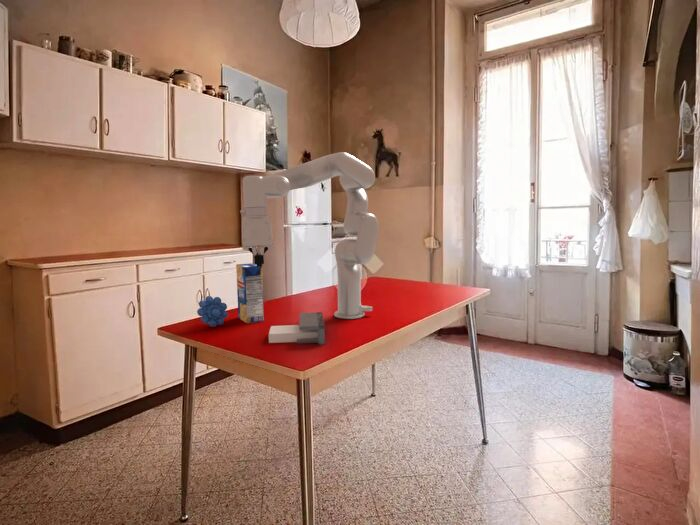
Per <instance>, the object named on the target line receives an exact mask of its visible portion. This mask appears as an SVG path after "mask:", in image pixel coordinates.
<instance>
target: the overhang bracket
mask: <svg viewBox="0 0 700 525" xmlns="http://www.w3.org/2000/svg"><path fill="white" fill-rule="evenodd" d="M298 325H299V330H318V338H307V339H297V342H296V344H313V343H315V344H316V343H317V344H318V346H319V345H320V346H321V345H325V344H326V343H325V342H326V341H325V340H326V338H325V336H326V334H325V332H326V331H325V321H324V315H323V312H322V311H321V312H300V313H299V324H298Z"/></svg>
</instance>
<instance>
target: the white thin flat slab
mask: <svg viewBox="0 0 700 525" xmlns="http://www.w3.org/2000/svg"><path fill="white" fill-rule="evenodd" d="M307 338H318V330H299V324H292V325H290V324H289V325H270V328H269V332H268V344H277V343H278V344H280V343H297V339H307Z"/></svg>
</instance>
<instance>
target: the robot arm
mask: <svg viewBox="0 0 700 525" xmlns="http://www.w3.org/2000/svg"><path fill="white" fill-rule="evenodd" d="M335 177H339V183H340V186H341V187H342V189H343V190H344V191H345V194H346V197H347V204H346V205H347V206H346V210H345V216H344V220H343V227H342V228H343V232H344V233H345V234H346V235H347V236H349V237H356V239H353V238H345V239H342V240H340V241H338V242H337V244H336V245H335V248H334V257H335V262H336V267H337V270H336V272H337V273H336V274H337V310H336V311H335V312H334V314H333V315H334V317H335V318H338V319H341V320H342V319H343V320H354V319H361V318H363V317H365V313H366V312H373V306H372V305H371V306H369V305H362V302H361V300H362V297H361V296H362V293H361V292H362V284H361V279H362V277H361V276H362V273H361V268H360V265H366V264H369V263H370V262H371V261H372V260H373V257H374V254H375V251H376V246H377V240H378V237H379V232H380V230H379V229H380V225H379V220H378V218H377V217H376V215H374V214H373V213H370V212H368V208H369V197H368V195H367V191H366V189H369V188H371V187H372V186H373V185H374V184H375V181H376V174H375V172H374V170H373V168H371V166H369V165H368V164H366V163H365V162H363V161H361V160H360V159H358V158H356V157H355V156H354V155H351V154H349V153H348V152H344V151H340V152H335V153H330V154H327V155H324V156H321V157H318V158H315V159H312V160H309V161H306V162H304V163H301V164H299V165H298V164H297V165H295V166H292V167H290V168H288V169H285V170H283V171H282V170H281V171H279V172H275V173H273V174H270V175H267V176H261V175H246V176H244V177H243V178H242V188H243V189H242V190H243V192H242V194H243V207H244V208H243V209H241V210H239V212H240V215H244V217H242V222H241V244H242V246H241V248H242V249H241V250H244V251H246V252H247V251H248V252H250V253H251V254H252V255H253V256H254V257H253V258H254V264H257V267H259V266H260V267H262V268H263V265H264V264H265V258H264V256H265V255H264V254H266V253H267V251H270V250H273V249H274V248H275V244H274V235H273V234H274V233H273V225H272V220H271V217H270V216H268V201H267V199H276V198H283V197H285V196H287V195H288V193H290V191H293V190H297V189H304V188H309V187H312V186H315V185H317V184H319V183H321V182H325V181H327V180H329V179H333V178H335ZM258 247H260V250H259V251H260V252H258Z"/></svg>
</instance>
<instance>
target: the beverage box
mask: <svg viewBox="0 0 700 525" xmlns="http://www.w3.org/2000/svg"><path fill="white" fill-rule="evenodd" d="M235 266H236V271H235V272H236V289H237V290H236V292H237V312H238V314H237V315H238V316H237V318H238V319H240V320H241V321H243V322H244V323H246V324H253V323H258V322H259V323H260V322H264V321H265V317H264V314H265V313H264V312H265V311H264V287H263V286H264V285H263V266H262V267H260V266H259V267H257V264H255V263H251V262H250V263H238V264H236V265H235Z"/></svg>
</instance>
